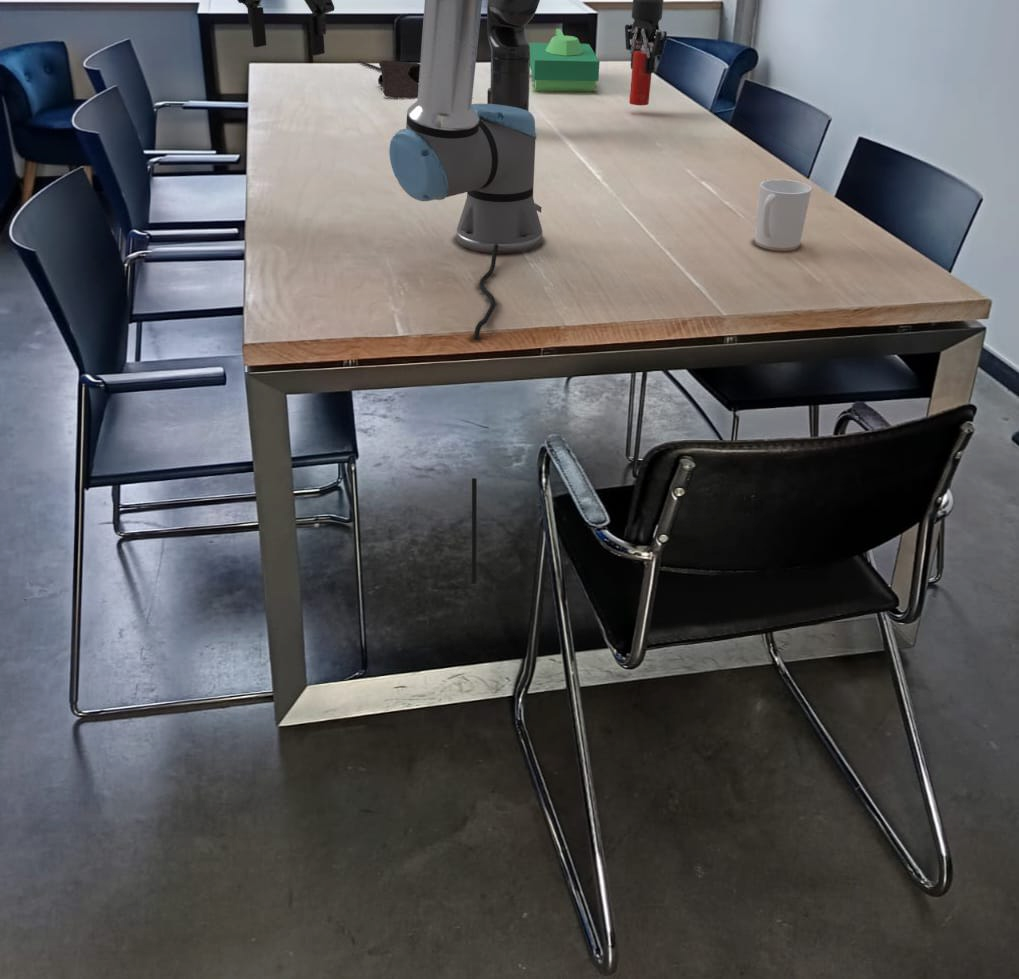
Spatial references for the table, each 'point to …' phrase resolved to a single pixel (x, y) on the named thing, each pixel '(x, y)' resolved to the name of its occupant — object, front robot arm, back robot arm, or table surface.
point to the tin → (640, 80)
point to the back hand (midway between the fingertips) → (641, 70)
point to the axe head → (399, 79)
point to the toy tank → (563, 65)
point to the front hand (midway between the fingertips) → (288, 50)
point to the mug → (781, 214)
